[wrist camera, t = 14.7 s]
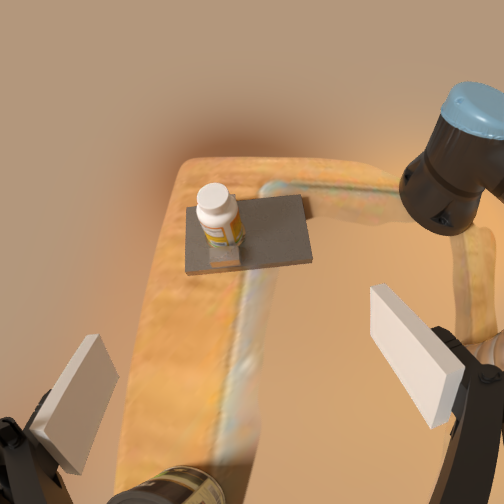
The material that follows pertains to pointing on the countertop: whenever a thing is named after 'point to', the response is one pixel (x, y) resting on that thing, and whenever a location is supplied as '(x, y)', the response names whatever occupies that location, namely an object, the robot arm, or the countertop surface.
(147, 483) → the coffee can
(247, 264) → the hinge plate
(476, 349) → the plastic bottle
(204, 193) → the supplement bottle
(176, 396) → the countertop surface
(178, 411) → the countertop surface
